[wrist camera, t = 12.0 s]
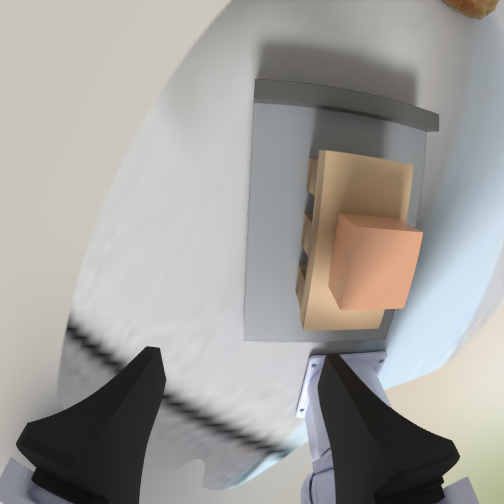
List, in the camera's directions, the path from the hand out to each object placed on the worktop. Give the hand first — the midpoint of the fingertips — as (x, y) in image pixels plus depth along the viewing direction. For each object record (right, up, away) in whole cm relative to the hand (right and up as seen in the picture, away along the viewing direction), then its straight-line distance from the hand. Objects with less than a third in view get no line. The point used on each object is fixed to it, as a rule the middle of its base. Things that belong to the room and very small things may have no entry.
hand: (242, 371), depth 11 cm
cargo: (+6, +5, +3) cm, 9 cm away
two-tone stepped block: (+6, +7, +7) cm, 11 cm away
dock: (+6, +7, +8) cm, 13 cm away
